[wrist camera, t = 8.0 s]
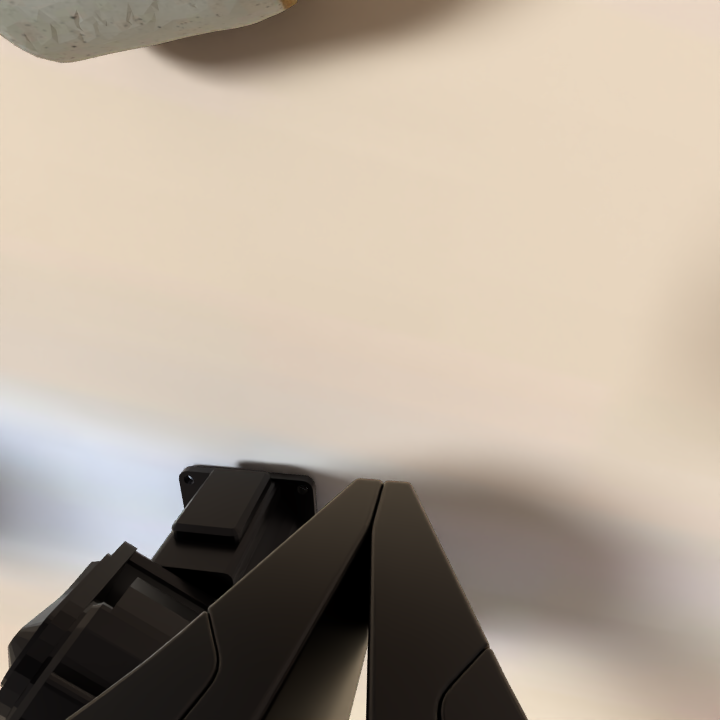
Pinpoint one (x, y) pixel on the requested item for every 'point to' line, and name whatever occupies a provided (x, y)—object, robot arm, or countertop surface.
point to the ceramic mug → (120, 23)
